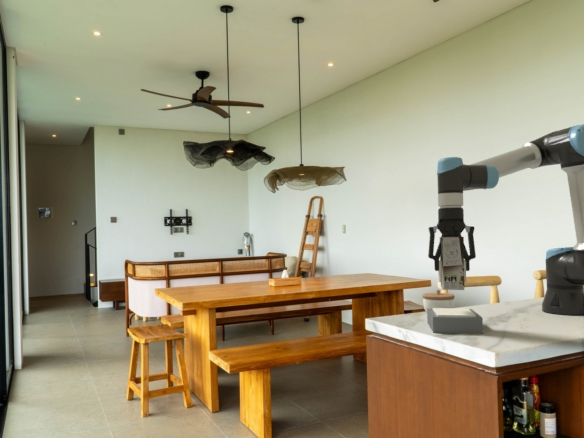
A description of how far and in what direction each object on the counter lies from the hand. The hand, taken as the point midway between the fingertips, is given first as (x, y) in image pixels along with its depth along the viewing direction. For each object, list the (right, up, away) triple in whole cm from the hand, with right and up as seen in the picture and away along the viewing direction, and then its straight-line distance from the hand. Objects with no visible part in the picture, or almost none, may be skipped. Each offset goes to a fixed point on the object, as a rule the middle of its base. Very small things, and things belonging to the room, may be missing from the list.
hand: (452, 281), depth 153 cm
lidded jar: (+1, -15, +19) cm, 24 cm away
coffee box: (0, -2, 0) cm, 2 cm away
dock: (0, -14, 0) cm, 14 cm away
